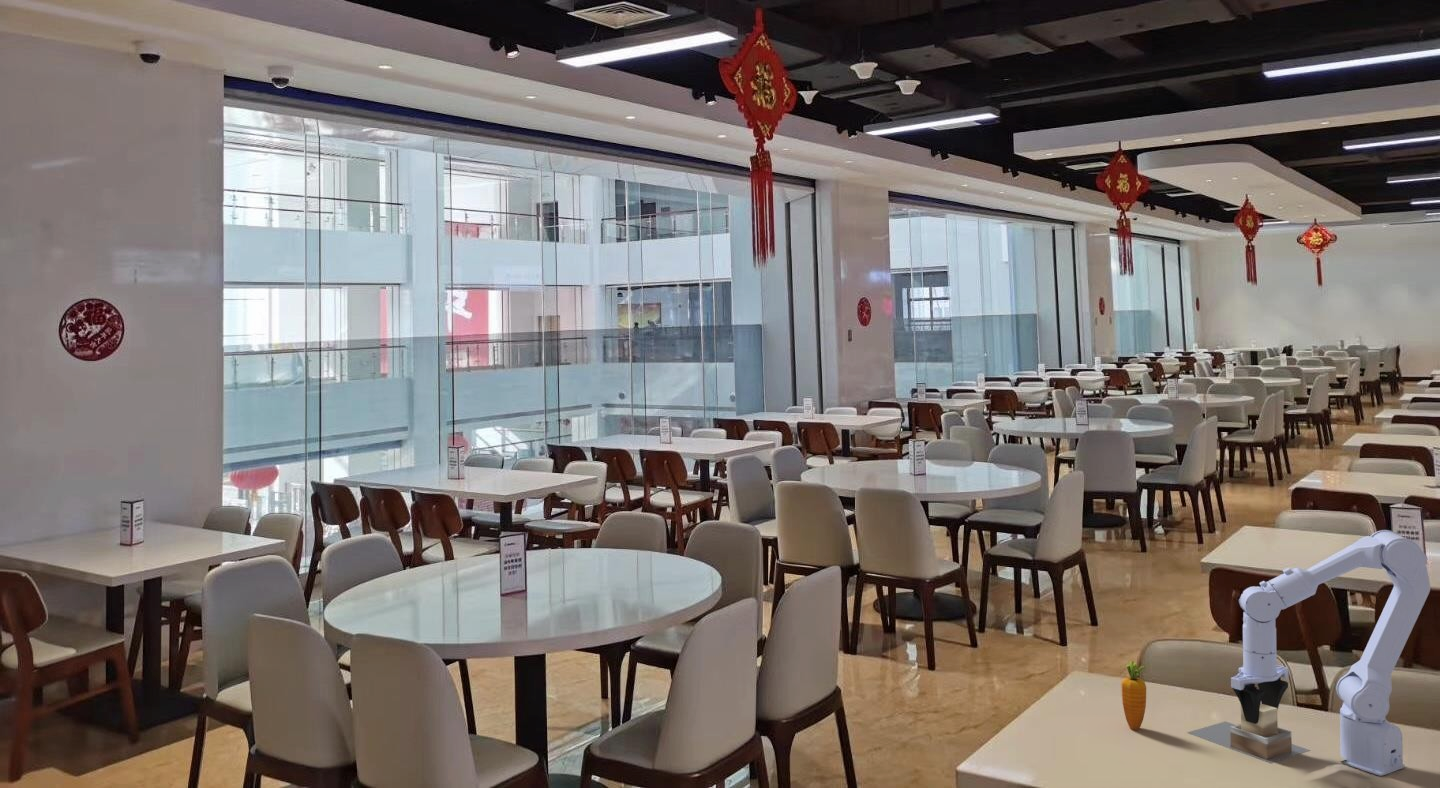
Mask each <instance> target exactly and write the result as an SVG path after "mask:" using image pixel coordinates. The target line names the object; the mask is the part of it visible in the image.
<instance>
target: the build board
mask: <svg viewBox="0 0 1440 788" xmlns="http://www.w3.org/2000/svg"><path fill="white" fill-rule="evenodd" d="M1235 725H1236V724H1234V723H1231V722H1228V721H1223V722H1222V721H1221V722H1218V723H1215V724H1211V725H1209V726H1204V727H1202V728H1197V729H1193V730H1191V731H1187V732H1186V733H1187V734H1189V735H1192V736H1194V737H1197V738H1200V739H1203V740H1205V741H1208V742H1211V743H1214V744H1215V745H1218V746H1222V747H1224V748H1227V749H1230V750H1232V751H1234V752H1235V751H1236V752H1238V753H1240V754H1244V755H1246V756H1249V757H1251V758H1255V759H1258V760H1260V761H1263V762H1265V763H1268V764H1273V763H1276V762H1279V761H1283V760H1285V759H1290V758H1292V757H1294V756H1297V755H1298V756H1299V755H1301V754H1303V753H1306V752H1310V751H1311V750H1310V749H1307V748H1304V747H1301V746H1299V745H1295V744H1293V743H1292V752H1290V753H1287V754H1284V755H1281V756H1278V757H1275V758H1272V759H1269V760H1265V759H1262V758H1260V757H1257V756H1254V755H1251V754H1249V753H1246V752H1243V751H1240V750H1238V749H1235V748H1232V747H1231V739H1230V727H1231V726H1235Z"/></svg>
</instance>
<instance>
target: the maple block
mask: <svg viewBox="0 0 1440 788" xmlns="http://www.w3.org/2000/svg"><path fill="white" fill-rule="evenodd" d="M1240 724H1241V730H1244V731H1247V732H1250V733H1253V734H1256V735H1259V736H1262V737H1269V736H1273V735H1276V734H1278V727H1279V725H1278V710H1277V708H1275V707H1271V706H1268V705H1264V704H1262V703H1260V709H1259V719H1258V723H1257V724H1254V723H1251V722H1248V721H1246V720H1245V716H1244V713H1243V709H1242V706H1241V705H1240Z"/></svg>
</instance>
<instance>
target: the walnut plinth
mask: <svg viewBox="0 0 1440 788" xmlns="http://www.w3.org/2000/svg"><path fill="white" fill-rule="evenodd" d="M1230 739H1231V747H1232V748H1235V749H1238V750H1240V751H1243V752H1246V753H1249V754H1251V755H1254V756H1257V757H1260V758H1262V759H1265V760H1269V759H1272V758H1275V757H1278V756H1281V755H1284V754H1287V753H1290V752H1292V744H1293V743H1292V731H1291V730H1289V729H1285V728H1282V727H1279V726H1278V734H1276V735H1273V736H1269V737H1262V736H1259V735H1256V734H1253V733H1250V732H1247V731H1244V730H1241V723H1239V724H1235V726H1231V727H1230Z"/></svg>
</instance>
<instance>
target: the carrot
mask: <svg viewBox="0 0 1440 788" xmlns="http://www.w3.org/2000/svg"><path fill="white" fill-rule="evenodd" d="M1138 665H1139V664H1137V663H1136V662H1135V661H1129V664H1128V663H1127V664H1126V668H1127V672H1128V675H1129V677H1126V678H1123V679H1122V680H1121V683H1120V684H1121V685H1120V686H1121V687H1120V688H1121V700H1122V702H1121V703H1122V707H1123V713H1124V715H1125V716H1124V717H1125V720H1126V722H1127V725H1128V727H1129V729H1130V730H1132V731H1138V730H1140V728H1141V727H1142V723H1143V721H1144V719H1145V713H1146V707H1147V685H1146V682H1145V681H1144V680H1143V679H1142V678H1139V675H1140V673H1141V672H1142V671H1143V670H1144V669H1146V667H1145V666H1144V665H1141V666H1139V667H1138ZM1137 667H1138V669H1137Z"/></svg>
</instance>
